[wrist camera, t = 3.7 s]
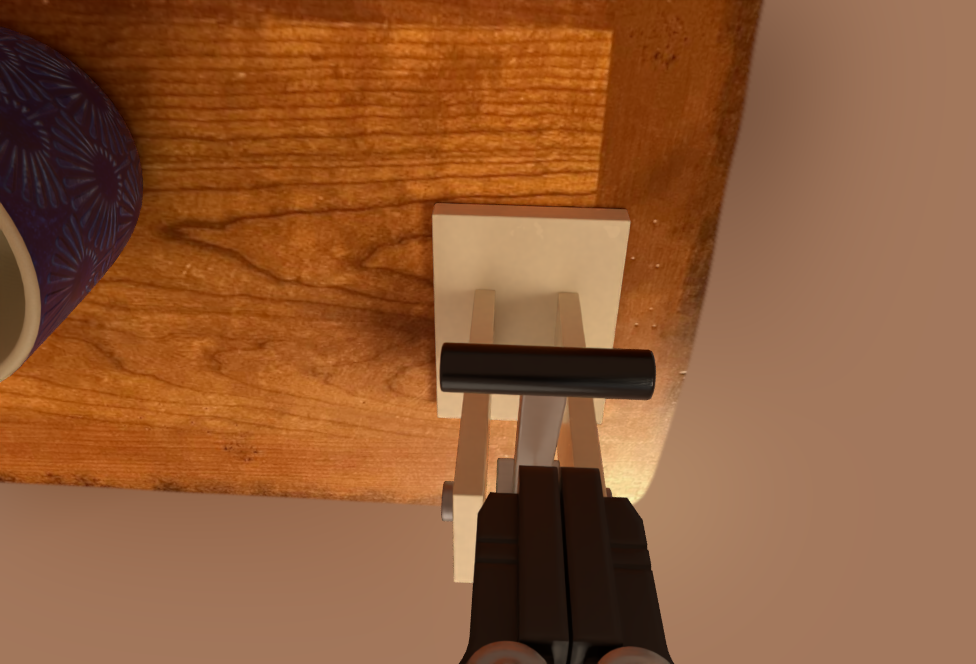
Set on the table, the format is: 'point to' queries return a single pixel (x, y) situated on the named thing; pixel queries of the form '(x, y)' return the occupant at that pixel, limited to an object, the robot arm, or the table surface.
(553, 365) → the lever
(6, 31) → the planter
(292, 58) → the table surface
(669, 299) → the table surface
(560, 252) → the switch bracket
